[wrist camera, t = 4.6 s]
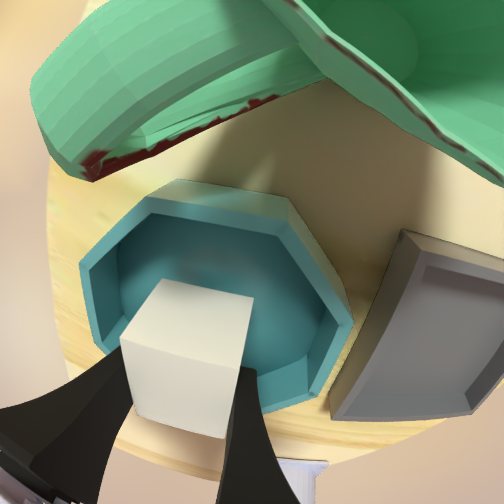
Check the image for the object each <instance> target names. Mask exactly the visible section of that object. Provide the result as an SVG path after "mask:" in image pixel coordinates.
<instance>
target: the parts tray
mask: <svg viewBox="0 0 504 504" xmlns="http://www.w3.org/2000/svg"><path fill="white" fill-rule="evenodd" d="M503 378H504V259H501V258H498V257H495V256H492V255H489V254H486V253H483V252H480V251H477V250H474V249H471V248H467V247H464V246H461V245H458V244H454V243H451V242H448V241H444V240H441V239H437V238H434V237H430V236H427V235H423V234H420V233H416V232H412V231H409V230H405V229H401V232H400V235H399V238H398V240H397V243H396V246H395V249H394V252H393V254H392V257H391V260H390V263H389V265H388V268H387V270H386V273H385V275H384V278H383V281H382V283H381V285H380V288H379V290H378V293H377V295H376V297H375V300H374V302H373V304H372V307H371V309H370V311H369V313H368V316H367V318H366V320H365V322H364V324H363V327H362V329H361V331H360V333H359V335H358V337H357V339H356V341H355V343H354V345H353V347H352V349H351V351H350V353H349V355H348V357H347V359H346V361H345V363H344V365H343V367H342V368H341V370H340V372H339V374H338V376H337V378H336V379H335V381H334V383H333V385H332V387H331V388H330V390H329V403H330V416H331V420H335V421H358V422H394V421H416V420H430V419H441V418H450V417H457V416H465V415H472V414H473V413H474V412H475V411H476V409H477V408H478V407H479V406H480V405H481V404H482V403H483V402H484V401H485V399H486V398H487V397H488V396H489V395H490V394H491V393H492V391H493V390H494V389H495V388H496V387H497V385H498V384H499V383H500V382H501V380H502V379H503Z"/></svg>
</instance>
